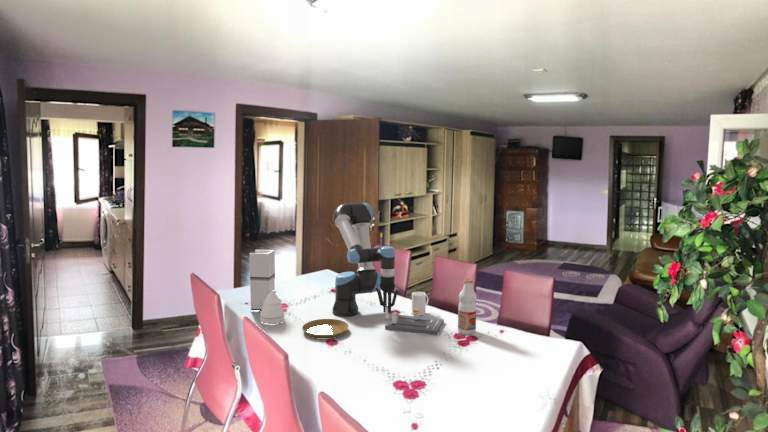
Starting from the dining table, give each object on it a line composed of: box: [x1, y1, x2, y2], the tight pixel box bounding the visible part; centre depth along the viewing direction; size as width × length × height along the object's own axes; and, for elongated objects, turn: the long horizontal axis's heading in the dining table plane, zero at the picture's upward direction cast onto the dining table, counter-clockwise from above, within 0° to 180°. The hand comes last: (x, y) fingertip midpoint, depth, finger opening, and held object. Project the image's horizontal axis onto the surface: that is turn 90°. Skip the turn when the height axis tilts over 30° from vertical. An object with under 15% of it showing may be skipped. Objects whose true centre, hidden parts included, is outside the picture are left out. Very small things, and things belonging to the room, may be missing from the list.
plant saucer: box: [301, 318, 349, 339], centre depth 275 cm, size 24×24×3 cm
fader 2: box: [413, 308, 420, 320], centre depth 289 cm, size 3×3×5 cm
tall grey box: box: [249, 249, 276, 311], centre depth 309 cm, size 11×11×35 cm
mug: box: [410, 291, 429, 317], centre depth 307 cm, size 12×8×12 cm
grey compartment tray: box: [384, 314, 445, 336], centre depth 285 cm, size 28×20×2 cm
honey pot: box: [260, 289, 285, 325], centre depth 290 cm, size 13×13×18 cm
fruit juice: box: [457, 278, 477, 335], centre depth 275 cm, size 9×9×28 cm
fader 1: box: [391, 311, 399, 324], centre depth 283 cm, size 3×3×5 cm
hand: (387, 318), depth 284 cm, fingers closed
